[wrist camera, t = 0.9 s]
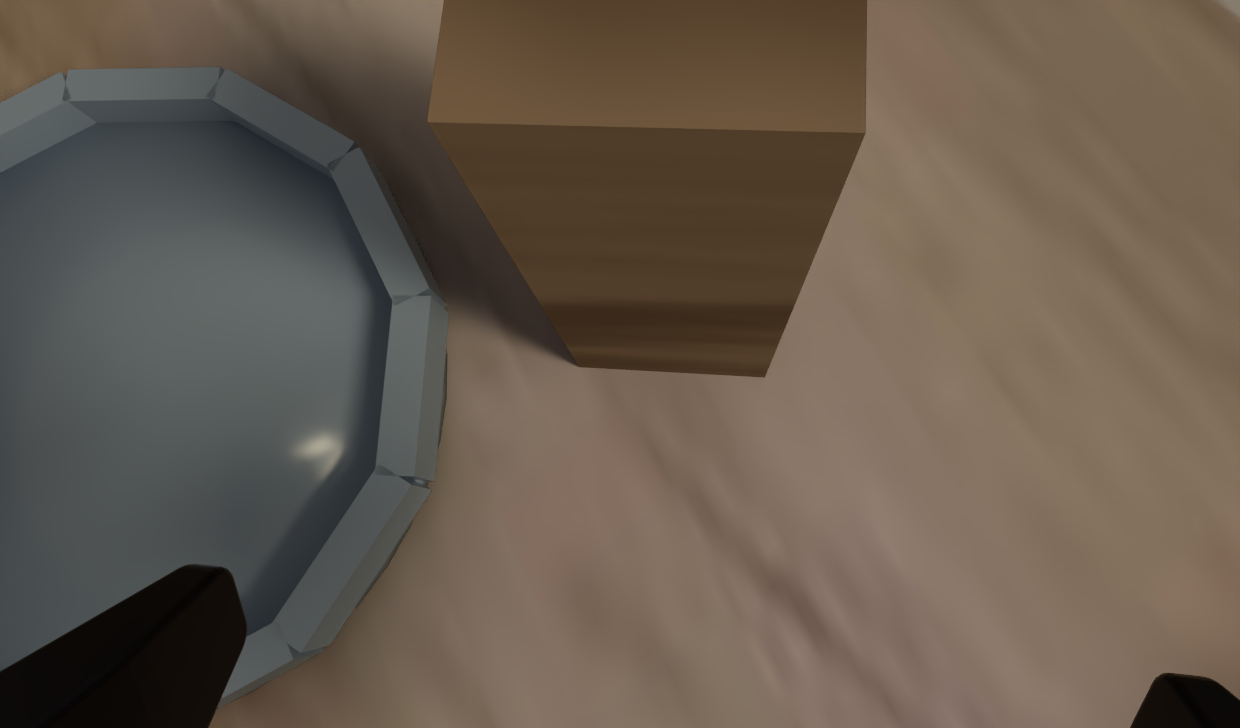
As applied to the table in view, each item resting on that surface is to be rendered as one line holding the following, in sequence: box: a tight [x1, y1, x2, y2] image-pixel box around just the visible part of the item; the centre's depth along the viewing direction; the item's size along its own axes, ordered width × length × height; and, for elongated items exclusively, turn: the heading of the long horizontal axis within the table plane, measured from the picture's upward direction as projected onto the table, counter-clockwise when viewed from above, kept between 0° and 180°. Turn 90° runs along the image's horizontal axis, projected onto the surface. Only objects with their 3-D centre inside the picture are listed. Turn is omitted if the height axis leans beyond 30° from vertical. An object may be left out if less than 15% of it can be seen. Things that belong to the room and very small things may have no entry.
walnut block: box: [427, 0, 867, 377], centre depth 16 cm, size 5×5×13 cm
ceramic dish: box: [0, 67, 449, 710], centre depth 22 cm, size 18×18×2 cm
